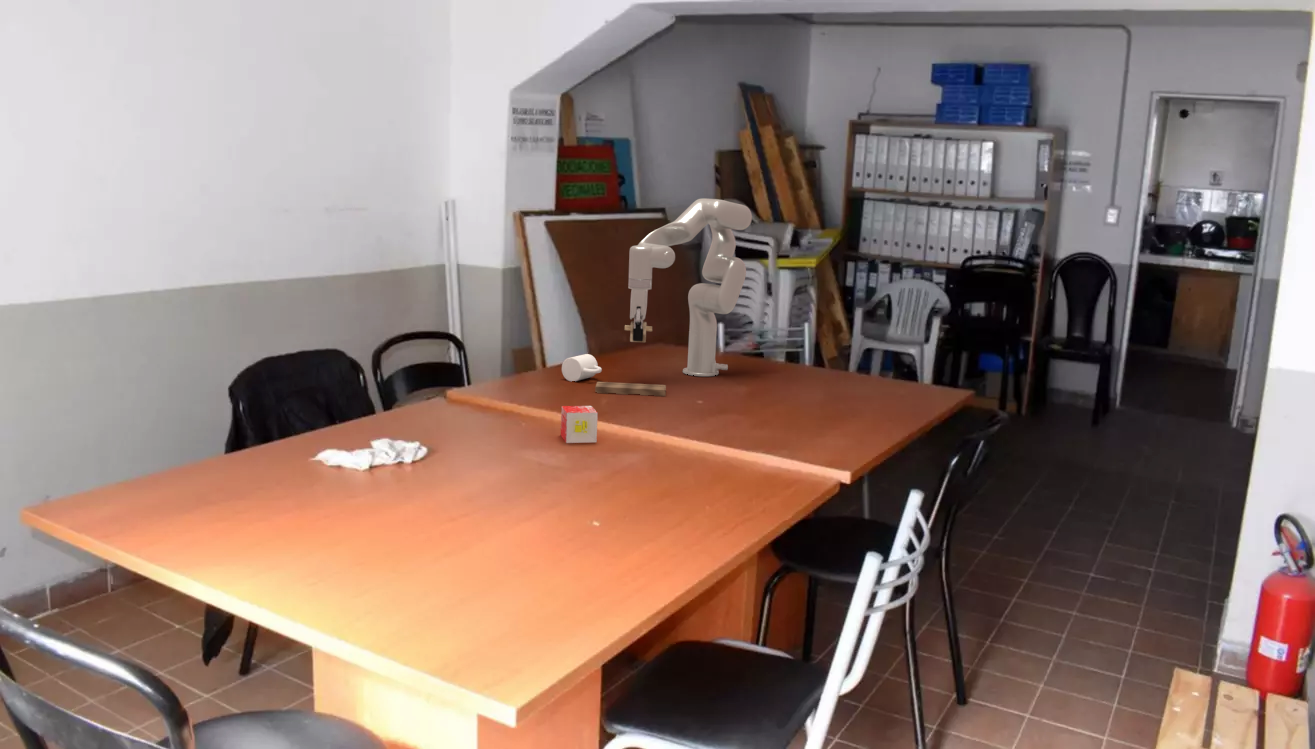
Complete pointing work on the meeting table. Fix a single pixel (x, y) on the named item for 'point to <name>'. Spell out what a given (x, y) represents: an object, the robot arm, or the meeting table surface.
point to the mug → (580, 367)
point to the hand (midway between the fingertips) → (638, 339)
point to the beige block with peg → (644, 327)
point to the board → (630, 388)
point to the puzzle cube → (579, 424)
